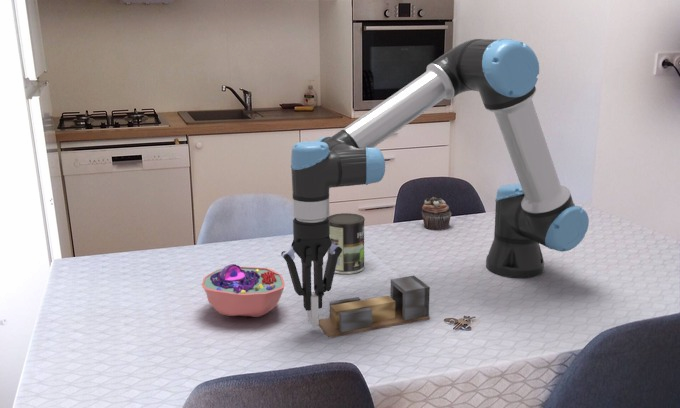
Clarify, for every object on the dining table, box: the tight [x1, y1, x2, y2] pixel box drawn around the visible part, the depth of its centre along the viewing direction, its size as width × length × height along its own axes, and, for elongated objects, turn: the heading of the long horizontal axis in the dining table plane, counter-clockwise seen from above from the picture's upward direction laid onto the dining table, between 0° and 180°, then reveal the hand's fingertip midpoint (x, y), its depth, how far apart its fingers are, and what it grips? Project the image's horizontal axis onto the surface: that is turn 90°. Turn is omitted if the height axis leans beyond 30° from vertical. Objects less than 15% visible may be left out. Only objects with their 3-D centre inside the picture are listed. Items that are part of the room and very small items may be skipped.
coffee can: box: [326, 212, 366, 275], centre depth 173 cm, size 10×10×14 cm
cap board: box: [318, 275, 430, 339], centre depth 142 cm, size 24×8×8 cm, turn 111°
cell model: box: [201, 263, 286, 318], centre depth 146 cm, size 17×20×11 cm
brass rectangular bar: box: [331, 295, 395, 329], centre depth 141 cm, size 14×4×4 cm, turn 111°
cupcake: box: [421, 195, 452, 231], centre depth 208 cm, size 10×10×10 cm
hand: (313, 322), depth 137 cm, fingers closed
